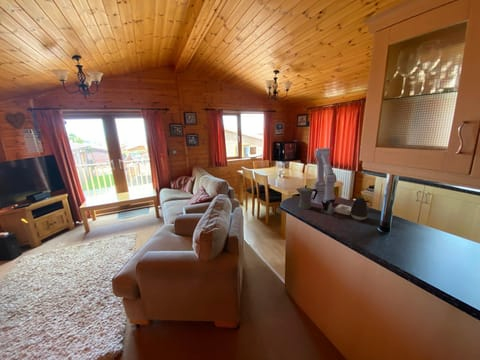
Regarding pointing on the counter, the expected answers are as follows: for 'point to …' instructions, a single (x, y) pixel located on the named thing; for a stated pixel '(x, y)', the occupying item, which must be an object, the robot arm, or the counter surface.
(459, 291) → the counter surface
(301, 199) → the coffeepot
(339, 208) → the port
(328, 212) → the plug
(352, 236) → the counter surface
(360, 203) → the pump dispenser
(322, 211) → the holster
